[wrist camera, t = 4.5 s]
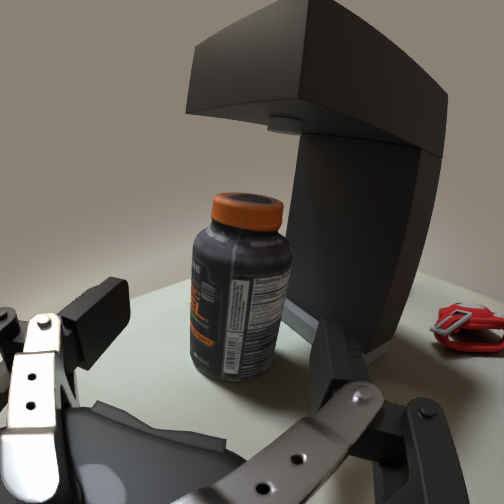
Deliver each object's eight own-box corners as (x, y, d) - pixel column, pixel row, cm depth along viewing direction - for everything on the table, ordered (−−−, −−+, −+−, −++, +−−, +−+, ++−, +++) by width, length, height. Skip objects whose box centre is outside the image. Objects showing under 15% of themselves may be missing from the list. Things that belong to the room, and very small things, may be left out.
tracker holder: (439, 296, 31) (507, 303, 24) (433, 330, 31) (501, 339, 24) (431, 308, 22) (529, 319, 15) (422, 357, 22) (517, 369, 15)
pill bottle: (185, 333, 22) (191, 185, 18) (257, 329, 24) (278, 191, 20) (196, 388, 17) (204, 205, 13) (284, 378, 18) (321, 212, 15)
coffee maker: (245, 427, 14) (310, -14, 7) (174, 325, 23) (195, 46, 16) (386, 352, 22) (448, 94, 15) (303, 296, 30) (338, 90, 23)
